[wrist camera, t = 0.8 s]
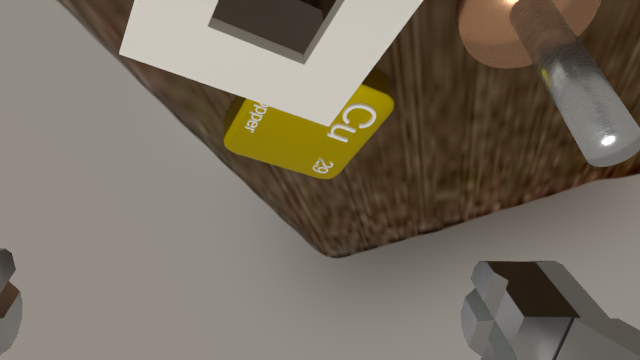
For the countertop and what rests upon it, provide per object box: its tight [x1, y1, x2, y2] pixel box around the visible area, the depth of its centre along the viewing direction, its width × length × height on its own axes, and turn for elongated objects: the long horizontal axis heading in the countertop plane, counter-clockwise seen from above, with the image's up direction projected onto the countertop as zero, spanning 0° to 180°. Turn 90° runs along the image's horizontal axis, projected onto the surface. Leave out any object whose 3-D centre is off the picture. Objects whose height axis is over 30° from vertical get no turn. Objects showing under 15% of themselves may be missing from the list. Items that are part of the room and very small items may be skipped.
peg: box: [455, 0, 640, 167], centre depth 36 cm, size 10×10×26 cm
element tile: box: [224, 68, 394, 179], centre depth 56 cm, size 15×15×5 cm
